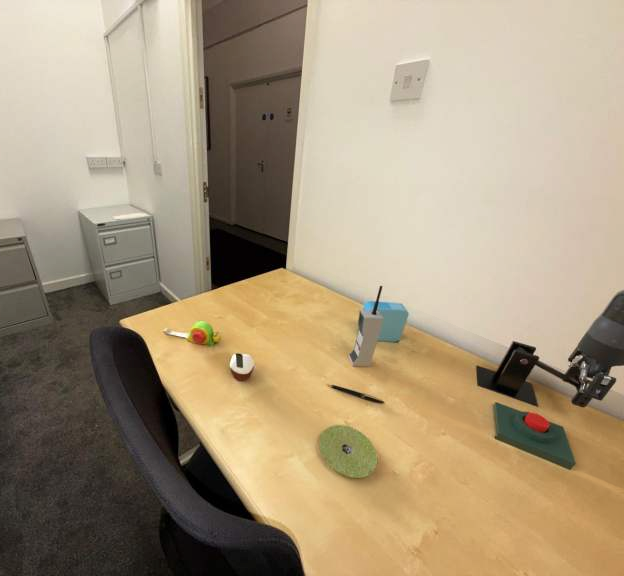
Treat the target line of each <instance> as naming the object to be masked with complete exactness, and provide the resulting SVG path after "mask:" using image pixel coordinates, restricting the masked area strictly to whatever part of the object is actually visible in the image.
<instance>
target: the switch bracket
mask: <svg viewBox="0 0 624 576" xmlns="http://www.w3.org/2000/svg"><path fill="white" fill-rule="evenodd" d="M519 346H520V347H522V348H524V349H525V350H527V351H529V352H531V353H532V354H529V353H526V352H522V351H519V350H516V349H517V348H518V347H519ZM513 351H514V352H513ZM536 351H537V347H536V346H532V345H529V344H525V343H522V342H519V341H515V340H513V341H511V344H510V345H509V347H508V348H507V351H506V352H505V354H504V356H503V358H502V360H501V362H500V363H499V365H498V366H497V368H496V370H492V369H489V368H486V367H484V366H480V365H475V369H476V371H475V372H476V385H477V387H480V388H483V389H486V390H489V391H491V392H494V393H496V394H499V395H504V396H506V397H508V398H511V399H514V400H517V401H518V402H519V401H520V402H522V403H525V404H528V405H531V406H534V407H536V408H538V407H539V404H538V400H537V397H536V393H535V390H534V385H533V383H532V382H529V381H527V379H528V377H529V376H530V374H531V372H532V371H533V370H534V368H535V367H536V363H537V362H538V361H540V356H539V355H536V354H535V353H536ZM512 352H513V354H512Z"/></svg>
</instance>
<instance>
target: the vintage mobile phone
mask: <svg viewBox="0 0 624 576" xmlns="http://www.w3.org/2000/svg"><path fill="white" fill-rule="evenodd" d="M382 290H383V285H379V288H378V291H377V296H376V300H375V301H376V302H375V305H374V309H373V310H363V309H360V310H359V313H358V320H357V321H358V322H357V326H358V327H359V329H358V330H357V334H356V338H355V343H354V347H353V350H352V351H351V352H350V353H349V354H348V359H349V361H350V364H351V366H352V367H359V368H360V367H361V368H363V367H364V368H365V367H366V368H369V367H371V364H372V361H373V357H374V354H375V350H376V347H377V344H378V341H377V340H378V337H379V333H380V330H381V327H382V323H383V320H384V319H383V317H382V316H381V315H380V313H379V312H378V311H377V307H378V303H379V302H380V297H381V294H382Z"/></svg>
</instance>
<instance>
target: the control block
mask: <svg viewBox="0 0 624 576" xmlns="http://www.w3.org/2000/svg"><path fill="white" fill-rule="evenodd" d="M492 408H493V415H494V425H495V426H494V427H495V435H494V439H495V440H496V441H498V442H501V443H503V444H506V445H509V446H511V447H514V448H515V449H518V450H521V451H522V452H525V453H528V454H530V455H532V456H535V457H537V458H539V459H543V460H544V461H547V462H549V463H552V464H554V465H556V466H558V467H562V468H564V469H566V470H569V471H571V470H572V469H573V468H574V466H575V465H576V460H575V457H574V454H573V451H572V448H571V446H570V442H569V440H568V437H567V433H566V431H565V428H564V426H563V425H560V424H557V423H554V422H552V421H550V420H548V422H549V423H550V426H549V428H548V429H547V430H546V432H543V433H541V432H538V431H536V430H533V429H532V428H530V427H529V426H527V425H526V423H525V422H524V419H525V417H526V416H527V414H528V413H531V412H530V411H522V410H519V409H517V408H513V407H511V406H508V405H505V404H502V403H499V402H497V401H495V402H494V403H493V405H492Z"/></svg>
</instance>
